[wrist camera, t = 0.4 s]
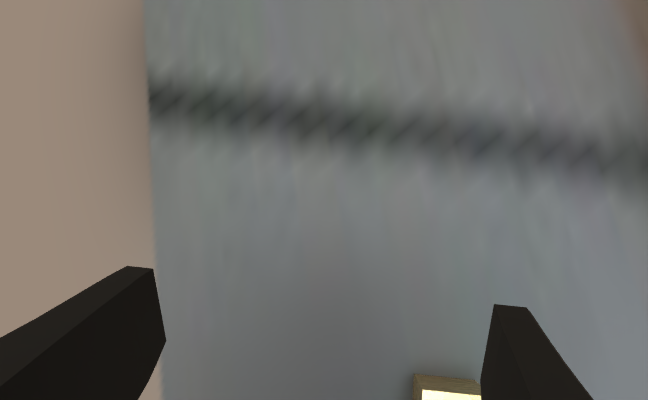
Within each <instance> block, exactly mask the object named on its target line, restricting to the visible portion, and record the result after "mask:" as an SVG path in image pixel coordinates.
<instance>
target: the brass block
mask: <svg viewBox="0 0 648 400" xmlns="http://www.w3.org/2000/svg"><path fill="white" fill-rule="evenodd" d="M412 400H481V385H480V384H479V383H477V382H476V381H475V380H468V379H459V378H449V377H439V376H430V375H420V374H414V382H413V399H412Z"/></svg>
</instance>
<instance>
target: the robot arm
mask: <svg viewBox="0 0 648 400" xmlns="http://www.w3.org/2000/svg"><path fill="white" fill-rule="evenodd" d="M165 342H166V337H165V331H164V326H163V320H162V315H161V310H160V304H159V299H158V293H157V288H156V282H155V277H154V272H153V269H151V268H141V267H132V266H126V267H124V268H122V269H120V270H119V271H117V272H115V273H113V274H111V275H109V276H107V277H106V278H104V279H102V280H101V281H99V282H97V283H95V284H94V285H92V286H91V287H89V288H87V289H85V290H84V291H82V292H81V293H79V294H77V295H75V296H74V297H72V298H70V299H68V300H67V301H65V302H63V303H62V304H60V305H58V306H56V307H55V308H53V309H51V310H50V311H48V312H46V313H44V314H43V315H41V316H39V317H38V318H36V319H34V320H32V321H31V322H29V323H27V324H25V325H23V326H21V327H19V328H17V329H16V330H14V331H12V332H10V333H8V334H7V335H5V336H3V337H1V338H0V400H138V398H139V397H140V395H141V393H142V392H143V390H144V388H145V386H146V385H147V383H148V381H149V379H150V377H151V375H152V372H153V370H154V368H155V366H156V364H157V361H158V359H159V357H160V354H161V352H162V350H163V347H164V345H165ZM480 384H481V400H593V398H592V397H591V396H590V395H589V393H588V392H587V391H586V389H585V388H584V387H583V385H582V384H581V383H580V382H579V380H578V379H577V378H576V376H575V375H574V374H573V372H572V371H571V370H570V368H569V367H568V366H567V364H566V363H565V362H564V360H563V359H562V357H561V356H560V355H559V353H558V352H557V350H556V349H555V348H554V346H553V345H552V343H551V342H550V340H549V339H548V338H547V336H546V335H545V333H544V332H543V330H542V329H541V327H540V326H539V324H538V323H537V321H536V320H535V318H534V317H533V315H532V314H531V312H530V311H529V310H528V309H527V308H526V307H516V306H507V305H497V304H494V307H493V313H492V318H491V324H490V329H489V335H488V341H487V346H486V352H485V357H484V363H483V368H482V374H481V379H480Z"/></svg>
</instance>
